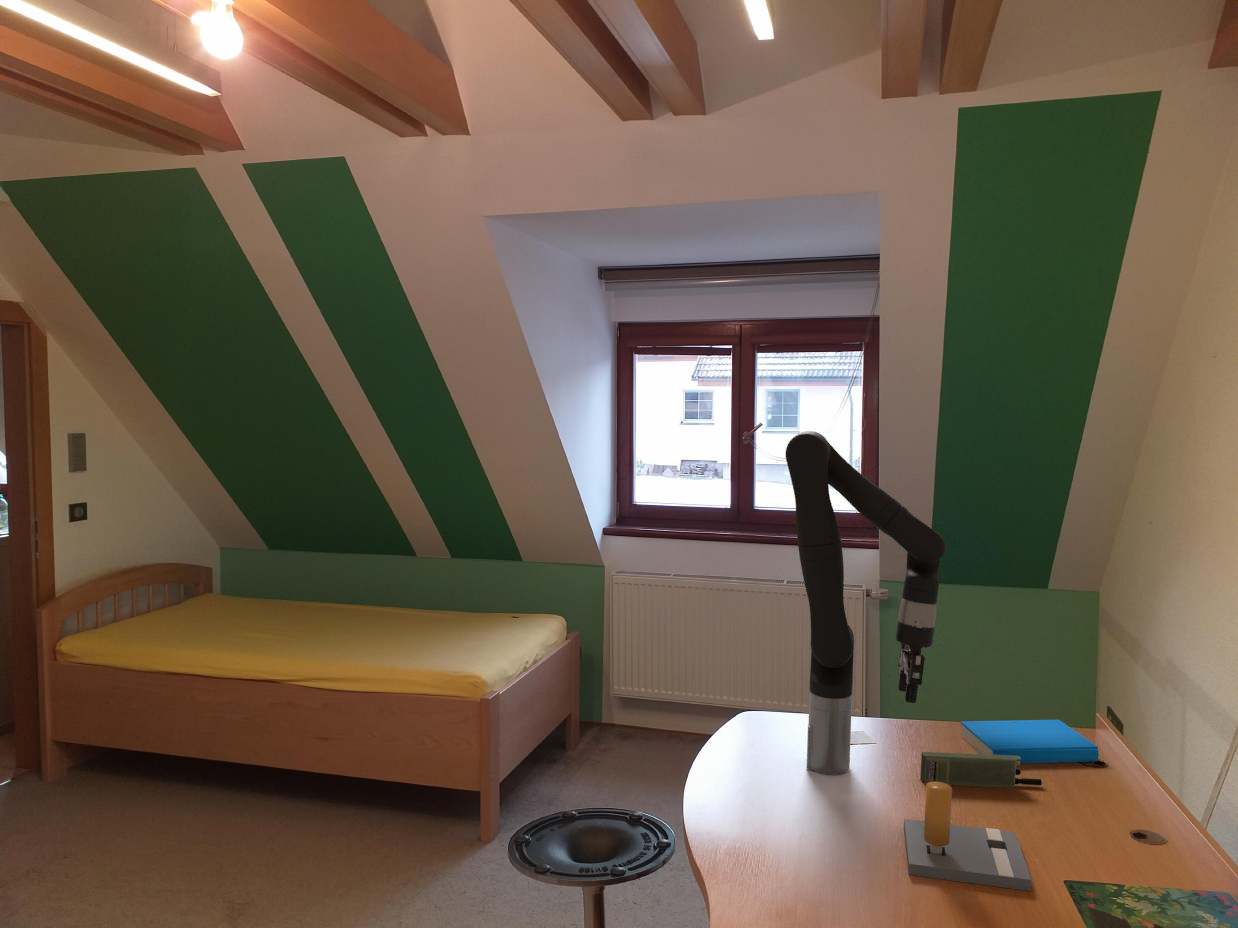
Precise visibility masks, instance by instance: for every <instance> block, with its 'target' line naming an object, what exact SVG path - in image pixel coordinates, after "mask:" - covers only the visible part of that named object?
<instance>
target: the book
mask: <svg viewBox="0 0 1238 928" xmlns="http://www.w3.org/2000/svg"><path fill="white" fill-rule="evenodd" d="M960 724H961V725H960V737H961V738H962V739H964V740H965V741H966V742H967V743H968V744H969V745H970V746H971V747H973V748H974V749H975V750H976V751H977V752H978V754H989V755H1012V756H1020V758H1021V759H1020V760H1017V761H1020V764H1037V763H1040V764H1041V763H1042V764H1043V763H1044V764H1045V763H1046V764H1047V763H1081V762H1087V763H1089V762H1088V761H1092V762H1098V761H1099V754H1100V753H1099V747H1098V745H1096V744H1094V743H1093V742H1092V741H1091V740H1089V739H1088V738H1086V737H1085V736H1083V735H1082V734H1080V733H1079V732H1077V731H1076V730H1075V729H1073V728H1072V727H1070V726H1068V724H1066V723H1065V722H1064V721H1062V720H1060V719H1028V720H1027V719H1026V720H1025V719H1023V720H1019V719H1018V720H1017V719H1016V720H1013V719H1012V720H1011V719H1010V720H972V721H971V720H969V721H967V720H966V721H965V720H964V721H960Z"/></svg>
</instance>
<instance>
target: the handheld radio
mask: <svg viewBox="0 0 1238 928" xmlns="http://www.w3.org/2000/svg"><path fill="white" fill-rule="evenodd" d="M920 756H921V758H920V760H921V761H920V778H919V779H920V782H921V783H922V784H927V783H929V782H942V783H945V784H948V785H949V786H954V785H955V786H969V787H971V786H972V787H989V788H990V787H993V788H994V787H995V788H996V787H997V788H1013V789H1014V788H1015V786H1016V785H1029V786H1042V783H1043V781H1042V779H1041V778H1025V777H1024V778H1023V777H1022V778H1018V777H1016V776H1019V775H1021V773H1022V771H1021V769H1019V768H1017V766H1021V763H1020V761H1017V760H1020V759H1021V758H1020V756H1012V755H989V754H980V753H961V752H941V751H940V752H939V751H938V752H937V751H934V752H933V751H921V755H920Z"/></svg>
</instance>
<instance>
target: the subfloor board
mask: <svg viewBox="0 0 1238 928" xmlns="http://www.w3.org/2000/svg"><path fill="white" fill-rule="evenodd" d="M924 822H925V820H917V819H910V818H903V835H904V843H905V853H906V863H907V874H908V875H909V876H916V877H925V878H932V879H939V880H946V881H953V882H960V883H961V882H962V883H968V884H976V885H982V886H983V885H984V886H991V887H996V888H997V887H999V888H1004V889H1005V888H1007V889H1013V890H1019V891H1028V892H1031V891H1032V877H1031V875H1030V872H1029V869H1028V866H1027V862H1026V861H1025V857H1024V854H1023V852H1022V848H1021V846H1020V843H1019V839H1018V837H1017V834H1016V832H1015V831H1007V830H1000V829H999V828H991V827H985V828H984V827H976V826H975V827H974V826H966V825H960V824H959V825H958V824H952V823H950V842H949V844H948V845H946V846H942V856H941V855H933V854H930V844H929V843H927V842H926V841H925V840H924Z"/></svg>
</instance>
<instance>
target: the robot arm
mask: <svg viewBox="0 0 1238 928" xmlns="http://www.w3.org/2000/svg"><path fill="white" fill-rule="evenodd" d="M785 460H786V465H787V468H788V472H789V476H790V480H791V485H792V490H793V495H794V500H795V501H794V503H795V523H796V536H797V546H798V555H799V561H800V566H801V573H802V578H803V582H804V583H803V584H804V588H805V592H806V595H807V600H808V605H809V615H810V617H809V618H810V651H811V652H810V668H809V669H810V670H809V671H810V673H809V693H808V694H809V696H808V697H809V701H808V703H809V704H808V725H807V745H806V746H807V747H806V769H807V770H811V771H813V772H816V773H819V774H823V775H832V776H833V775H834V776H835V775H841V774H845V773H848V771H849V770H850V764H851V763H850V761H851V757H850V756H851V735H852V734H851V733H852V708H853V707H852V705H853V686H854V685H853V683H854V681H853V680H854V676H853V675H854V656H855V655H854V651H855V650H854V649H855V636H854V635H855V634H854V632H853V629H852V628H851V626H850V625H849V623H848V620H847V614H846V609H845V604H844V603H845V602H844V590H845V589H844V585H845V584H844V583H845V582H844V581H845V575H844V574H845V571H844V570H845V569H844V555H843V553H844V552H843V545H842V539H841V538H842V537H841V533H840V528H839V524H838V520H837V516H836V513H835V511H834V508H833V504H832V501H831V497H830V490H829V486H830V487H831V488H833V489H834V490H835V491H836V492H838V493H839V495H841V496H842V497H843V498H844V499H845V500H846V501H847V502H848V503H849V504H850V505H851V506H852V507H853V509H855V510H856V511H857V512H858V513H859V514H860V515H862V517H863V518H865V520H867V521H868V522H870V523H871V524H872V525H873V526H875V527H876V528H877V529H878V530H880V531H881V532H882V533H884V534H885V535H887V536H889V537H890V538H891V539H893V540H894V541H895V542H896V543H897V544H898V545H900V546H901V548H902V549H904V550H905V551H906V552H907V553H906V554H907V555H906V573H905V578H904V581H903V582H904V583H903V588H902V598H901V601H900V605H899V611H898V618H897V626H896V632H895V640H896V641H897V643H900V652H899V659H898V663H897V666H898V672H899V677H898V678H899V679H898V686H897V689H898V690H899V692H904V695H905V696H904V700H905V702H906V703H911V704H916V702H917V699H918V698H917V697H918V689H919V686H922V684H923V674H924V669H925V667H924V666H925V661H926V658H925V656H924V655H923V654H922V649H923V648H931V647H932V646H933V641H934V635H935V627H936V620H937V619H936V618H937V602H938V594H939V588H940V587H939V586H940V585H939V584H940V583H939V576H938V575H939V568H940V562H941V561H940V560H941V559H942V558H943V556H944V554H946V553H945V552H946V543H945V540H944V538H943V536H942V535H941V534H939V532H938V531H936V530H934V529H933V528H931V527H930V526H928V525H927V524H926V523H924V522H923V521H921V520H920V519H919V518H917V517H916V516H914V515H913V513H912V512H910V511H909V510H908V509H907V508H906V507H905V506H904V505H903V504H901V503H900V502H899V501H897V500H896V499H895V498H894V497H893V496H891V495H890V494H888V493H887V491H885V490H883V489H882V488H881V487H879V486H877V485H876V484H875V483H874V482H872V481H871V480H870V479H868V478H867V477H866V476H864V475H863V474H862V473H861V472H859V471H858V470H857V469H856V468H855V467H853V466H852V465H851V464H850V463H849V462H848V461H847V460H846V459H845V458H844V457H842V456H841V454H840V453H839V452H838V451H837V450H836V449H835V448H834V447H833V446H832V444H831V443H830V442H829V441H828V439H827V438H826V437H825V436H824V435H823V434H821V433H820V432H817V431H812V430H805V431H801V432H800V433H798V434H796V435H794V436H793V437H792V438H791V439H790V440H789V441H788V443H787V446H786V448H785ZM913 676H915V677H913Z"/></svg>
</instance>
